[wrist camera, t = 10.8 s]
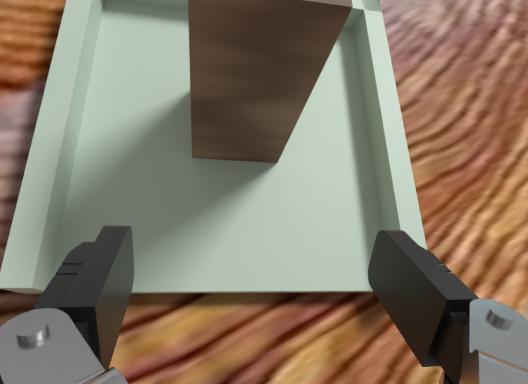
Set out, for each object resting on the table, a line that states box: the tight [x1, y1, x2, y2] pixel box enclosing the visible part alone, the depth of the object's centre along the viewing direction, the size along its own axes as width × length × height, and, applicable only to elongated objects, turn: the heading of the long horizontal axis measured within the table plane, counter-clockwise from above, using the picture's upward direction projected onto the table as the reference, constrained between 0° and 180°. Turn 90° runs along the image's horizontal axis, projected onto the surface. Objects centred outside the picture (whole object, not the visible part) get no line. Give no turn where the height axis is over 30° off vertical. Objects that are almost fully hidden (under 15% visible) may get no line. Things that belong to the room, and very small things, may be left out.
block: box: [188, 0, 353, 163], centre depth 15 cm, size 4×4×10 cm
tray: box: [0, 0, 427, 294], centre depth 19 cm, size 18×18×2 cm
